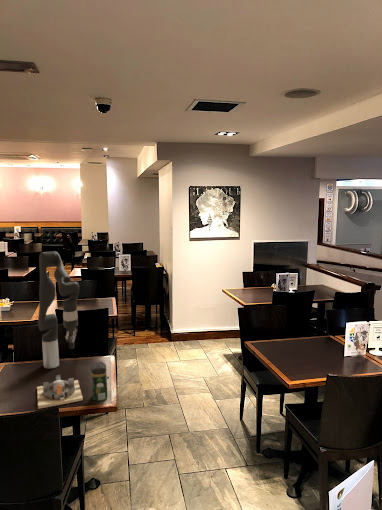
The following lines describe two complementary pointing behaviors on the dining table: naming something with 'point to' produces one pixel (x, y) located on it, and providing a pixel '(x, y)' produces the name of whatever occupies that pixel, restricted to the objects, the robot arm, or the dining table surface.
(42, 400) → the base plate
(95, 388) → the coffee jar
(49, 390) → the ring nut
